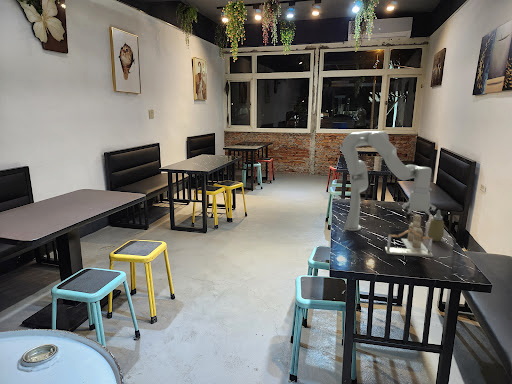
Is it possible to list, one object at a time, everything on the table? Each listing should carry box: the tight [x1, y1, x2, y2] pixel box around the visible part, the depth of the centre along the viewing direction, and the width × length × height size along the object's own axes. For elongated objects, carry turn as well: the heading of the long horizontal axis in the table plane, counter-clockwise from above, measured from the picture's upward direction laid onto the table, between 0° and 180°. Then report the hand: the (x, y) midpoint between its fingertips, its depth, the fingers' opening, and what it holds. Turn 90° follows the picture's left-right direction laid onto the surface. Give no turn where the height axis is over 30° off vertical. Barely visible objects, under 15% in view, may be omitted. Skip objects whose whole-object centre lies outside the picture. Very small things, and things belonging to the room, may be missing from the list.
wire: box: [384, 228, 434, 258], centre depth 169 cm, size 6×22×14 cm, turn 80°
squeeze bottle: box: [427, 209, 445, 242], centre depth 186 cm, size 8×8×18 cm
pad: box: [400, 238, 428, 250], centre depth 181 cm, size 14×10×1 cm
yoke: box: [406, 214, 424, 248], centre depth 179 cm, size 11×4×17 cm, turn 170°
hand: (416, 220), depth 178 cm, fingers open, 8 cm apart
